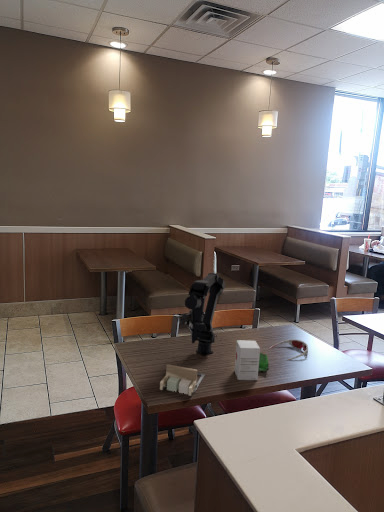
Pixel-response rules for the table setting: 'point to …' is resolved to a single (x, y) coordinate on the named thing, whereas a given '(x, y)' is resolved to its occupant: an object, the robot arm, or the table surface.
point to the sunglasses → (296, 344)
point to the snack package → (263, 362)
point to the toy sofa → (180, 376)
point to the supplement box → (247, 360)
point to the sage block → (173, 384)
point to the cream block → (184, 386)
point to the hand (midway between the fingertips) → (192, 343)
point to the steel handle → (198, 380)
